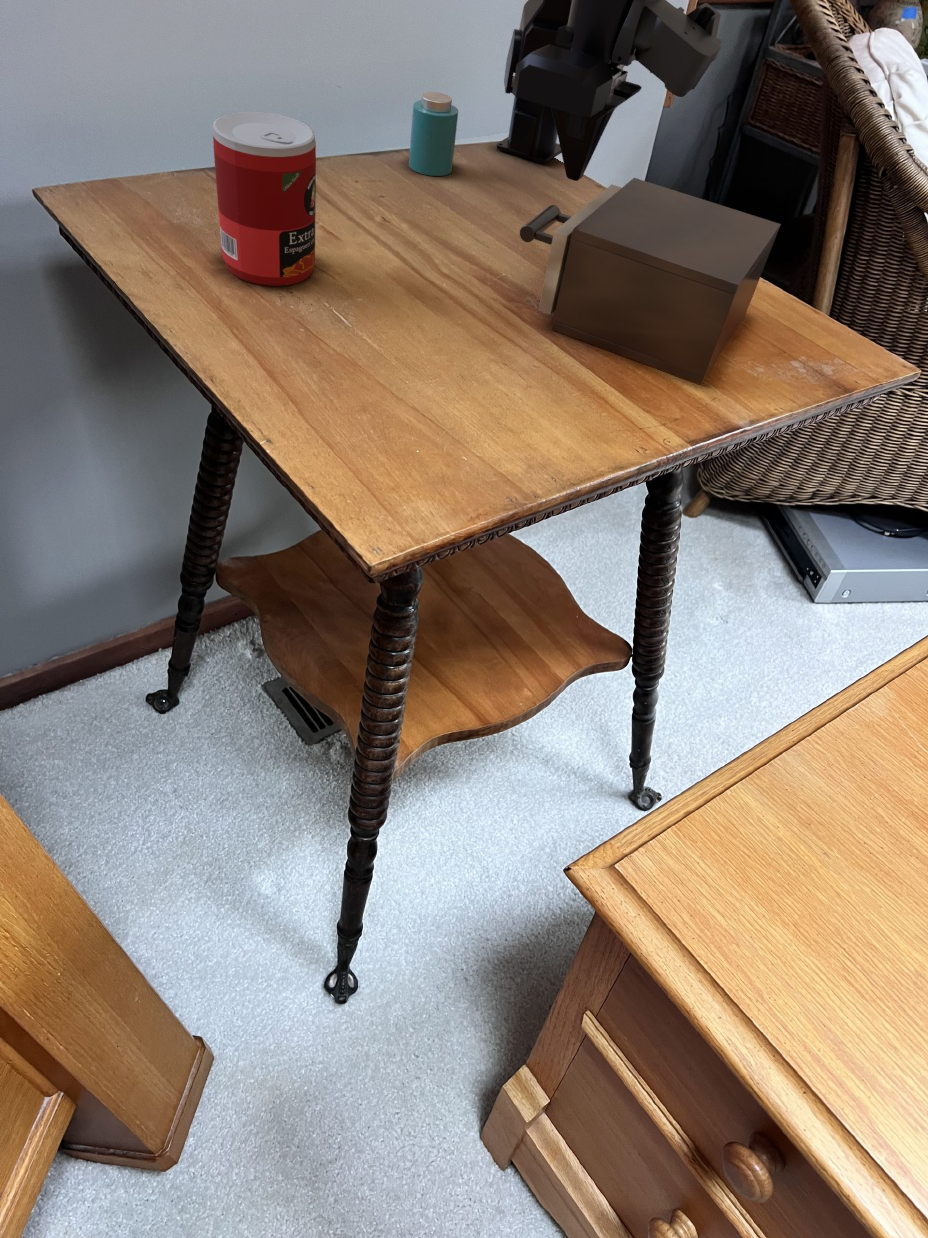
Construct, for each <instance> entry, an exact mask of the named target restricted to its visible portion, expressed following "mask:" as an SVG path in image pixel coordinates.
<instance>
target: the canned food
mask: <svg viewBox="0 0 928 1238" xmlns="http://www.w3.org/2000/svg"><path fill="white" fill-rule="evenodd" d="M212 140H213V141H212V142H213V158H214V159H213V160H214V168H215V183H216V195H217V196H216V197H217V207H218V219H219V220H218V221H219V232H220V233H219V234H220V247H221V255H222V260H223V262H224V264H225V267H226V268H227V270H228V271H229V272H230V274H233V275H234V276H236V277H237V278H239V279H240V280H243V281H245V282H248V283H252V284H256V285H260V286H261V285H262V286H268V287H270V286H271V287H273V286H274V287H281V286H282V287H283V286H290V285H294V284H298V283H300V282H302V281H305V280H306V279H307V278H309V277H310V275H311V274H312V273H313V270H314V266H315V262H316V207H317V206H316V202H317V201H316V197H317V196H316V195H317V194H316V193H317V189H316V187H317V152H316V151H317V145H316V144H317V142H316V134H315V131H314V130H313V128H311V127H310V126H309V125H307V124H305V123H304V122H302V121H300V120H298V119H296V118H292V117H290V116H286V115H282V114H277V113H273V112H265V111H237V112H232V113H228V114H224V115H222V116H220V117H218V118H216V119H215V120H214V121H213V123H212Z"/></svg>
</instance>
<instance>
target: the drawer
mask: <svg viewBox="0 0 928 1238" xmlns="http://www.w3.org/2000/svg"><path fill="white" fill-rule="evenodd" d="M621 188H622V186H618V185H615V184H610V185H609V186H608V187H606V188H605V189H604V190H603V191H602V192H601V193H599V194H598V195H597V196H596V197H594V198H593V199H592V200H591V201H589V202H588V203H587V204H586V205H584V206H583V207H582V208H581V209H580V210H578V211H577V212H576V213H575V214H573V215H572V216H571V215H568V214H565V213H562V212H561V208H560V207H559V206H557V205H555V204H551V205H549V206H548V207H547V208H545V209H543V210H542V211H541V212H540V213H539V214H537V215H535V217H533V218H532V219H531V220H529V221H528V222H526V223H525V224H524V225H522V226H521V228H520V229H519V238H520V239H521V241H523V242H524V243H532V241H534V240H535V241H539V242H541V243H544V244H546V245H550V250H549V254H548V260H547V265H546V271H545V274H544V278H543V279H544V280H543V285H542V289H541V295H540V301H539V304H538V309H537V310H538V311H539V312H541V313H544V314H547V315H549V316H551V315H552V314H553V313H555V310H556V306H557V301H558V297H559V292H560V287H561V283H562V278H563V274H564V269H565V265H566V260H567V255H568V251H569V246H570V242H571V237H572V232H573V229H574V228H575V227H576V226H577V225H578V224H580V223H581V222H582V221H583V220H584V219H586V218H587V217H588V216H589V215H590V214H592V213H593V212H594V211H595V210H596V209H597V208H599V207H600V206H601V205H602V204H603V203H605V202H606V201H607V200H608V199H609V198H610V197H612V196H613V195H614V194H615V193H616V192H618V191H619V190H620V189H621ZM556 222H558V223H561V225H560V226H559V227H557V228H556V229H555V230H554V231H553V234H549V233H547V232H545V231H546V230H547V229H549V228H550V227H552V226H553V225H554V224H555V223H556Z"/></svg>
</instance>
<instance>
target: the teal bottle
mask: <svg viewBox="0 0 928 1238" xmlns="http://www.w3.org/2000/svg"><path fill="white" fill-rule="evenodd" d="M412 104H413V105H412V117H411V130H410V143H409V153H408V155H409V156H408V167H409V168H410V169H411V170H412V171H414V172H416V173H417V174H421V175H425V176H430V177H431V176H432V177H442V176H443V177H445V176H448V175H449V174H451V173H452V171H453V164H454V155H455V147H456V138H457V129H458V128H457V127H458V120H459V109H458V108H457V106H455V105H453V98H452V97H451V96H449V95H448V94H445V93H442V92H437V91H427V92H426V91H425V92H423V93H422V94H421V98H420V100H416V101H415V102H414V103H412Z"/></svg>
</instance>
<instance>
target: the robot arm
mask: <svg viewBox="0 0 928 1238" xmlns="http://www.w3.org/2000/svg"><path fill="white" fill-rule="evenodd" d="M721 15H722V14H721V13H720V12H719V11H718V10H716V9H715V8H714V7H713V6H712V5H711V4H709V3H708V2H704V3H703V4H701V5H699V6H698V7H696V8H695V9H693V10H692V11H690V12H689V13H688V14H686V13H685V9H684V8H683V7H682V6H679V7H676V6H674V5H673V4H672V3H670V2H669V1H668V0H527V1H526V2H525V3H524V5H523V8H522V13H521V17H520V24H519V29H517V28H514V29H513V31H512V35H511V40H510V44H509V47H508V53H507V56H506V61H505V70H504V78H503V86H504V92H505V94H508V95H509V94H512V95H513V96H514V97H513V98H514V99H513V103H512V104H513V105H512V111H511V116H510V123H509V131H508V136H507V137H506V138H504V139H502V140H500V141H499V142H497V143H496V146H495V149H497V150H499V151H502V152H505V153H509V154H512V155H515V156H518V157H521V158H524V159H526V160H527V159H528V160H530V161H533V162H537V163H540V164H547V163H549V162H550V161H552V160H553V159H555V158H556V157H557V156H559V155H560V154H561V157H562V161H563V167H564V171H565V176H566V178H567V180H571V181H575V182H578V181H580V180H581V179H582V178H583V176H584V175H585V172H586V171H587V168H588V166H589V164H590V161H591V159H592V157H593V155H594V153H595V151H596V149H597V147H598V145H599V143H600V140H601V138H602V136H603V134H604V132H605V129H606V127H607V125H608V123H609V121H610V119H611V117H612V116H613V114H614V112H615V111H616V109H617V108H618V107H619V106H620V105H622V104H623V103H625V102H626V101H629V99H630V98H633V96H635V95H636V94H637V93H639V92H640V91H641V90H642V87H643V86H641V85H640V84H637V83H634V82H632V81H631V82H630V81H627V77H628V73H629V71H628V70H624V67H629V66H630V65H632V63H633V62H634V61H635V62H638V63H639V64H641V66H643V67H644V68H645V69H646V70H647V71H649V73H650V74H652V75H654V76H655V77H656V78H657V79H658V80H659V81H661V82H662V83H663V84H664V88H665V89H666V90H667V91H668V92H670V93H671V94H672V95H674V96H675V97H678V98H683V97H685V96H686V95H687V94H688V93H689V92H691V90H695V89H696V88H697V86H698V84H699V83H700V81H701V80H702V78H703V77H704V75H705V73H706V72H707V70H708V69H709V67H710V66H711V65H712V63H713V62H714V61H715V60H716V59H717V57H718V54H719V52H720V51H721V48H722V46H721V44H722V42H723V40H721V39H720V38H719V37H718V31H719V25H720V20H721ZM557 141H558V143H557Z"/></svg>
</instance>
